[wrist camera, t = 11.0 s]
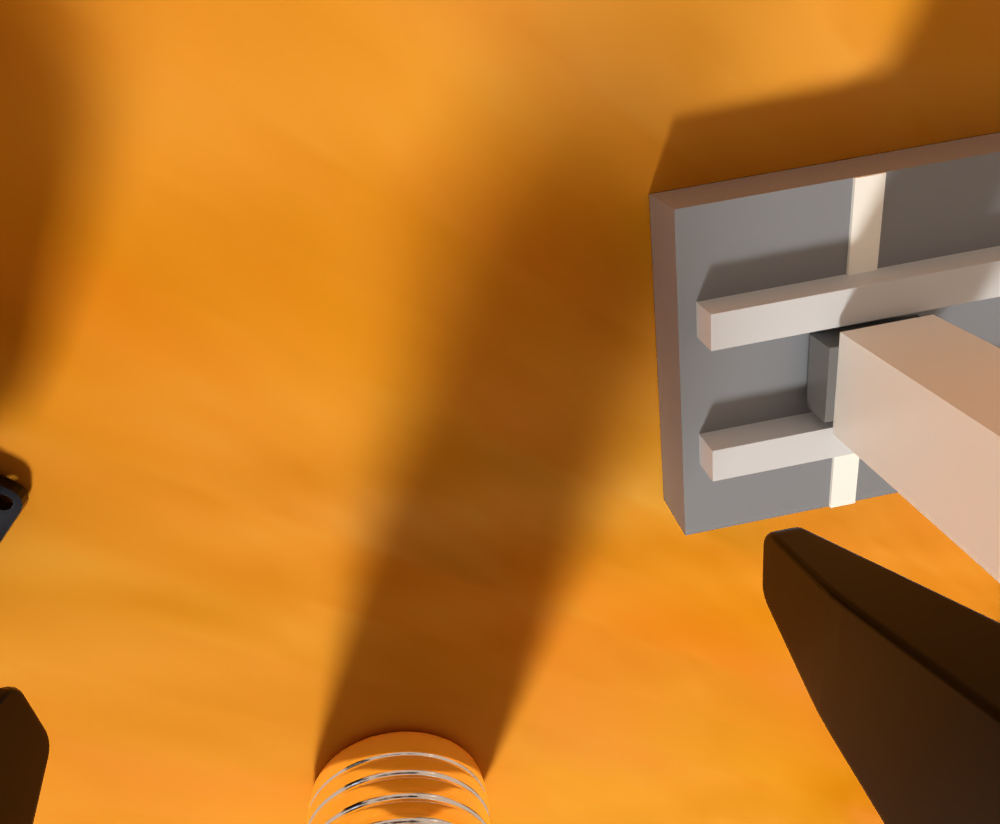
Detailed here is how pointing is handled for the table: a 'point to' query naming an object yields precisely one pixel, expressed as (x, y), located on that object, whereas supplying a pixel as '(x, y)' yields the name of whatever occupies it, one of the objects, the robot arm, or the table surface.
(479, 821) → the water bottle
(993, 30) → the table surface
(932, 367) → the fader tab
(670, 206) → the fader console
